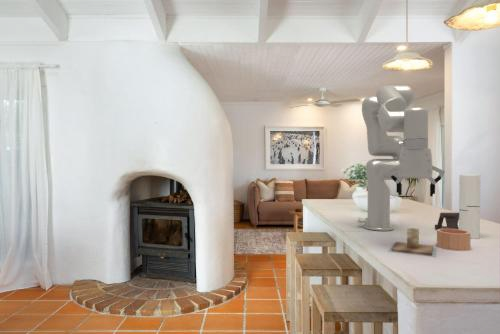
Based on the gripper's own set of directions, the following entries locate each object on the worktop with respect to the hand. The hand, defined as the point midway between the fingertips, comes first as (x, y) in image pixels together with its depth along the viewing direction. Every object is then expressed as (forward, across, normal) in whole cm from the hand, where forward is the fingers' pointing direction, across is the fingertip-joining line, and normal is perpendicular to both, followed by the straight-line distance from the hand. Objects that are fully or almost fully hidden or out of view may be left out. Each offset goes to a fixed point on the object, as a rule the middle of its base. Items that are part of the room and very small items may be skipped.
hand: (415, 195), depth 119 cm
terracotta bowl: (+19, +11, +10) cm, 24 cm away
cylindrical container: (+19, +17, +36) cm, 45 cm away
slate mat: (+19, -1, 0) cm, 19 cm away
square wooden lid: (+18, -1, 0) cm, 18 cm away
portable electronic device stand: (+19, +10, +46) cm, 51 cm away
